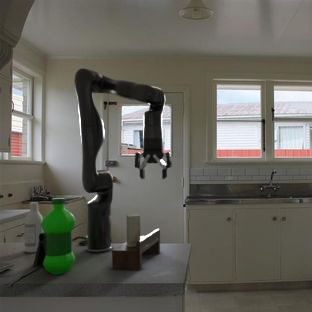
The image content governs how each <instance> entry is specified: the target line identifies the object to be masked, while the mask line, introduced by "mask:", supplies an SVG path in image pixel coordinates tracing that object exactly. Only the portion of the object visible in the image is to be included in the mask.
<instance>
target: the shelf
mask: <svg viewBox="0 0 312 312" xmlns="http://www.w3.org/2000/svg"><path fill="white" fill-rule="evenodd" d="M140 239H141V240H139V241H138V242H136V247H128V246H127V241H125V242H124V243H122V244H120V245H118V246H117V247H115V248H113V249H111V269H112V270H125V271H128V270H129V271H141V270H142V268H143V265H142V264H143V263H142V254H149V255H151V254H152V255H153V254H154V255H159V254H160V253H161V229H160V228H156V229H154V230H153V231H152V232H150V233H148V234H147V235H140Z"/></svg>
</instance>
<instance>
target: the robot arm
mask: <svg viewBox="0 0 312 312" xmlns="http://www.w3.org/2000/svg"><path fill="white" fill-rule="evenodd" d="M73 82H74V88H75V94H76V99H77V104H78V115H79V130H80V140H81V151H82V152H81V154H82V155H81V156H82V164H81V166H82V167H81V183H82V187H83V190H84V192H85V193H87V194H96V195H95V196H94V198H92V199H91V200H89V201H88V202H87V204H86V208H87V209H86V223H87V224H86V225H87V226H86V237H85V236H76V237H74V239H73V241H77V240H78V239H82V240H81V241H78V245H80V246H85V245H86V251H87V252H88V253H93V254H97V253H104V252H105V253H106V252H109V251H112V202H113V198H114V197H113V192H114V179H113V175H112V173H111V171H109V170H107V169H97V158H98V155H99V152H100V150H101V148H102V146H103V144H104V141H105V138H106V137H105V135H106V134H105V124H104V120H103V118H102V115H101V114H100V112H99V110H98V109H97V106H96V105H95V100H94V96H93V95H94V94H108V95H109V94H110V95H114V96H116V97H119V98H123V99H127V100H130V101H137V102H140V103H143V104H148V105H149V106H148V107H149V108H148V110H146V111H144V113H143V129H142V152H135V153H134V168H136V169H138V170H139V178H141V180H145V179H146V172H145V171H146V166H148V164H158V165H159V166H160V167H161V168H162V171H161V178H162V180H165V179H166V178H167V177H168V169H170V168H172V167H173V165H172V164H173V163H172V161H173V160H172V153H171V152H170V151H167V152H164V143H163V142H164V133H163V112H164V108H165V104H166V95H165V92H164V90H163V89H162V88H160V87H157V86H154V85H150V84H143V83H138V82H134V81H129V80H125V79H113V78H110V77H108V76H105V75H103V74H101V73H99V72H98V71H95V70H92V69H88V68H83V67H82V68H79V69H78V70H77V71H76V73H75V75H74V81H73ZM141 158H143V160H142V162H141ZM163 158H165V159H166V162H165V161H164V160H163Z"/></svg>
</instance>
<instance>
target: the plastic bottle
mask: <svg viewBox="0 0 312 312" xmlns="http://www.w3.org/2000/svg"><path fill="white" fill-rule="evenodd" d="M65 204H66V197H52V198H51V205H53V209H51V210H50V211H49V212H48V213H47V214H46V215H45V216H44V217H43V221H42V230H43V231H44V232H45V233H46V257H45V259H44V261H43V265H44V267H43V268H44V269H45V270H46V271H47V272H48V273H50V274H52V275H62V274H66V273H67V272H68V271H70V269H71V268H73V266H74V264H75V260H76V258H75V257H76V256H75V254H74V252H73V248H72V247H73V245H72V244H73V243H72V242H73V241H72V240H73V239H72V237H73V236H72V231H73V230H74V229H75V227H76V218H75V215H74V214H73V213H72V212H70V211H69V210H68V209H66V208H65Z"/></svg>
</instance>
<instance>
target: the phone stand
mask: <svg viewBox="0 0 312 312" xmlns="http://www.w3.org/2000/svg"><path fill="white" fill-rule="evenodd" d="M34 255H35V256H34V260H33V264H32V266H33V267H39V268H44V265H43V261H44V259H45V257H46V233H45V232H44V233H40V234H39V244H38V248H37V252H35V254H34Z"/></svg>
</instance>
